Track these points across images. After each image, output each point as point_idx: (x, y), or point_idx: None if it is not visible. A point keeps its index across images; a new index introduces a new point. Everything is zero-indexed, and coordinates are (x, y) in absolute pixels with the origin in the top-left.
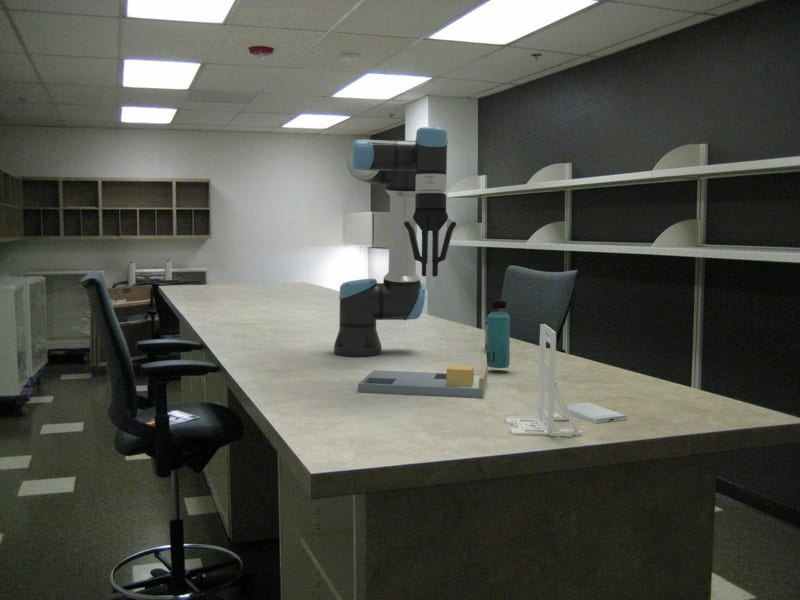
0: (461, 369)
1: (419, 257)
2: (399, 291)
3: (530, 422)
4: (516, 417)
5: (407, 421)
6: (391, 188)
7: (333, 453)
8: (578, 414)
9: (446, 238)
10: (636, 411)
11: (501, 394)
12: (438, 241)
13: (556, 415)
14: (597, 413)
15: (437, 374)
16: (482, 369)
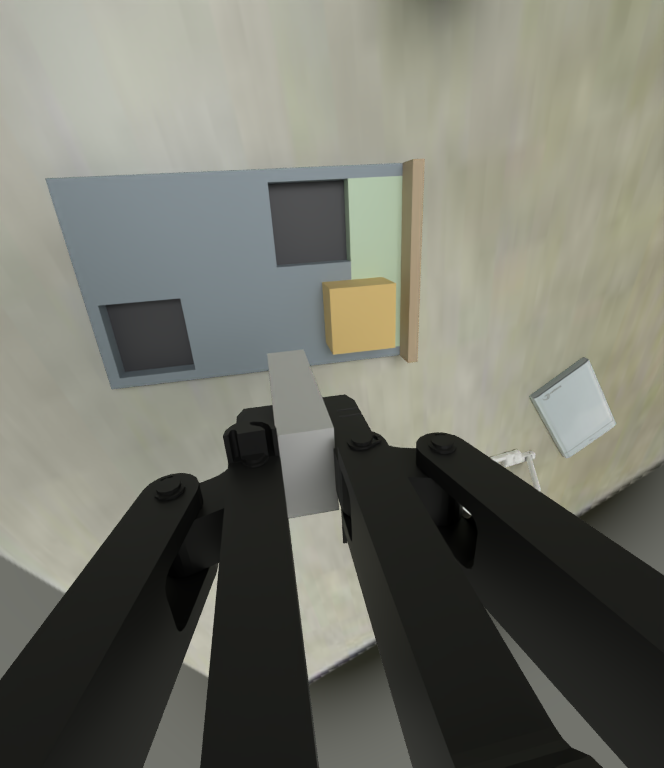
0: (369, 347)
1: (213, 554)
2: None
3: None
4: None
5: (299, 538)
6: None
7: None
8: (550, 431)
9: (631, 735)
10: (645, 364)
11: (438, 302)
12: (487, 623)
13: (516, 463)
14: (578, 429)
15: (269, 182)
16: (411, 238)
